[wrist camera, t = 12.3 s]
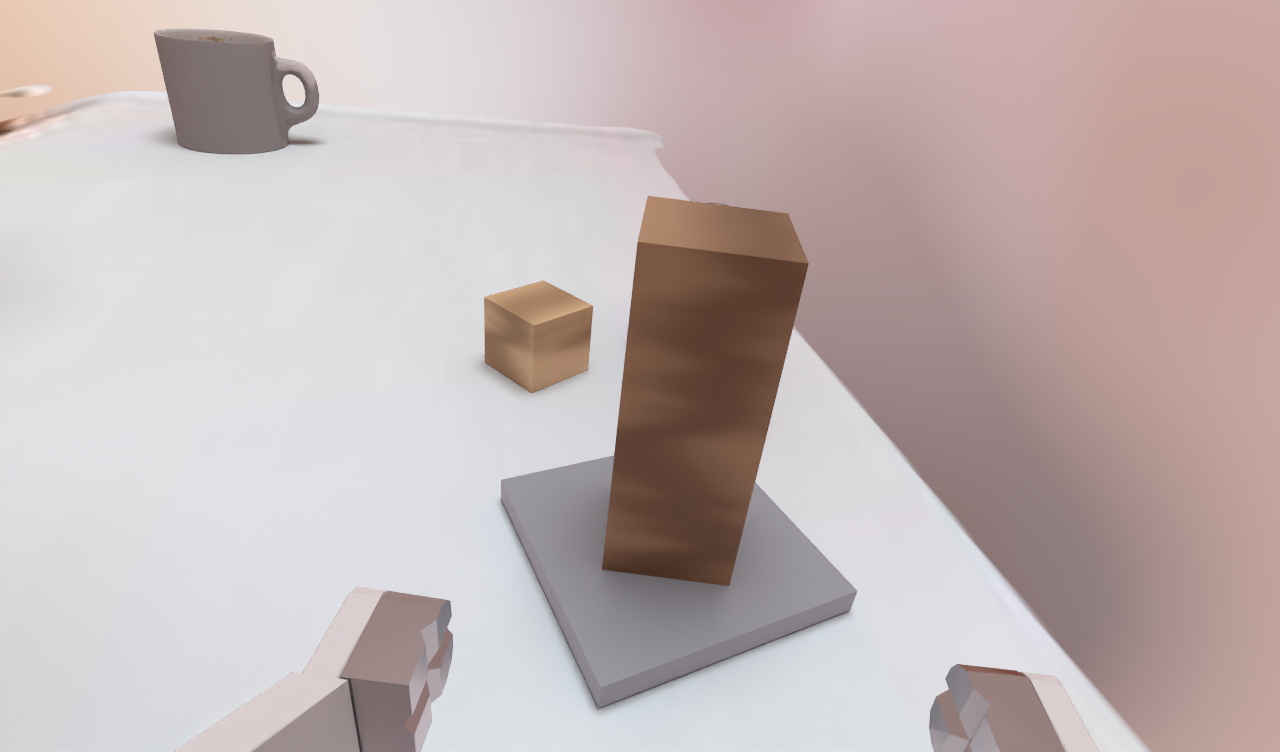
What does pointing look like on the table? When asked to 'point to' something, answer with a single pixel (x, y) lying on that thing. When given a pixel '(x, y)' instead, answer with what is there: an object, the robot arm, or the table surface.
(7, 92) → the table surface
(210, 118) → the coffee mug
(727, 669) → the table surface
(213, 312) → the table surface
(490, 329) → the oak cube
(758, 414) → the walnut block
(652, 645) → the grey pad
